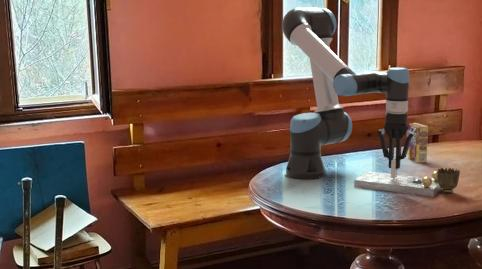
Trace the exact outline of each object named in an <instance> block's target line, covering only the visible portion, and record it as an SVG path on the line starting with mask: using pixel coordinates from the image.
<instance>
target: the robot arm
mask: <svg viewBox="0 0 482 269" xmlns="http://www.w3.org/2000/svg"><path fill="white" fill-rule="evenodd" d="M281 28H282V32H283V35H284V37H285V38H286V39H287V41H289V43H290V44H291V45H293V46H295V47H296V46H297V47H298V48H299V49H300V50H301V51H302V52H303V53H304V54H305V55H306V56H307V57H308V58H309V63H310V69H311V70H310V71H311V76H312V82H313V88H314V95H315V100H316V109H315V110H314V111H313V112H304V113H299V114H296V115H293V116H292V117H291V119H290V126H289V137H290V138H289V139H290V142H289V143H290V144H289V146H290V149H289V150H290V151H289V152H290V154H289V158H288V162H287V164H286V166H285V175H286V176H287V177H288V178H292V179H299V180H300V179H301V180H310V179H311V180H315V179H319V178H320V179H321V178H323V177H325V175H326V168H325V165H324V160H323V158H322V152H321V151H322V150H321V146H325V145H326V146H327V145H331V144H339V143H341V142H344V141H346V140H347V139H349V138H350V135H351V134H352V131H353V122H352V118H351V116H350V115H349V114H348V113H347V112H345V110H344V109H345V108H344V106H342V105H341V104H340V102H339V97H352V96H357V95H367V94H375V93H376V94H377V93H378V94H384V95H385V96H386V97H385V111H386V112H385V120H384V121H385V122H384V125H383V128H381V129H379V130H377V131H376V132H377V134H378V136H379V140H380V145H381V149H382V155H383V157H384V158H387V159H388V164H387V166H388V168H389V169H390V174H391V178H396V177H397V175H398V170H399V169H401V160H404V159H406V158H407V156H408V155H407V154H408V151H409V145H410V142H411V139H412V137H413V136H414V135H415V134H414V133H413V132H410V131H409V126H408V116H409V114H408V111H409V90H410V89H409V88H410V82H411V80H410V70H409V69H408V68H406V67H388V69H387V72H385V71H377V70H376V71H375V70H365V71H363V72H356V73H355V71H353V70H352V69H351V68H350V67H349V66H348V65H347V64H346V63H345V62H344V61H343V60H342V59H341V58H340V57H339V56H338V55H336V53H335V52H334V51H333V50H332V49H331V47H330V45H331V42H332V41H333V35H335V32H336V29H337V20H336V17H335V15H334V13H333V12H332V11H331V10H330V9H328V8H323V7H319V6H317V7H295V8H293V9H291V10H288V11H287V13H285V15H284V16H283V19H282V23H281ZM386 135H387V136H388V143H387V138H386ZM405 135H406V140H405V142H404V145H403V148H402V141H403V137H404V136H405ZM395 141H396V142H395ZM395 144H396V145H395Z"/></svg>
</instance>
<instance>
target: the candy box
mask: <svg viewBox="0 0 482 269" xmlns="http://www.w3.org/2000/svg"><path fill="white" fill-rule="evenodd" d="M408 130H409V131H410V132H413V133H414V134H415V135H414V136H413V137H412V139H411V142H410V145H409V148H408V152H407V154H408V155H407V157H408V158H407V159H409V160H411V161H413V162H415V163H419V164H420V163H427V161H428V160H427V159H428V158H427V155H428V142H429V141H428V140H429V126H428V125H425V124H422V123H418V122H413V123H412V122H411V123H409V126H408Z"/></svg>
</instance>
